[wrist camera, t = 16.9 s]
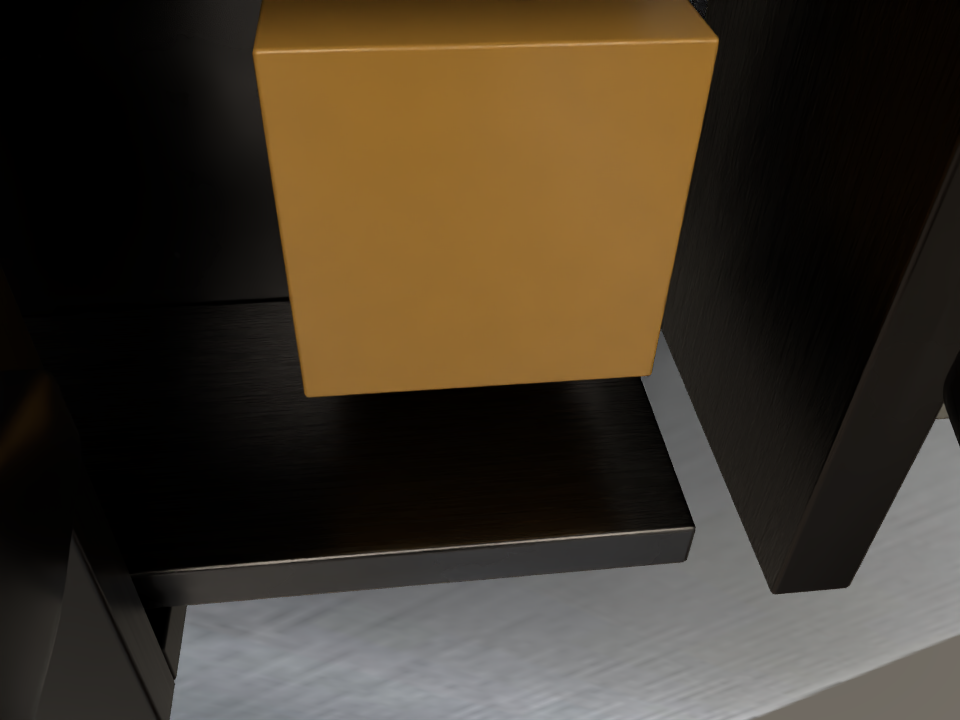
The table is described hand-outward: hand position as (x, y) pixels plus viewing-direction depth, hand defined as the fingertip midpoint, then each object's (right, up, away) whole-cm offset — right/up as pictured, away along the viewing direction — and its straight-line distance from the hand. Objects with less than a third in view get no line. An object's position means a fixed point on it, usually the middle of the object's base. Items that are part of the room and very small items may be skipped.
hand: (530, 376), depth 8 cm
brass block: (-1, +4, +5) cm, 7 cm away
